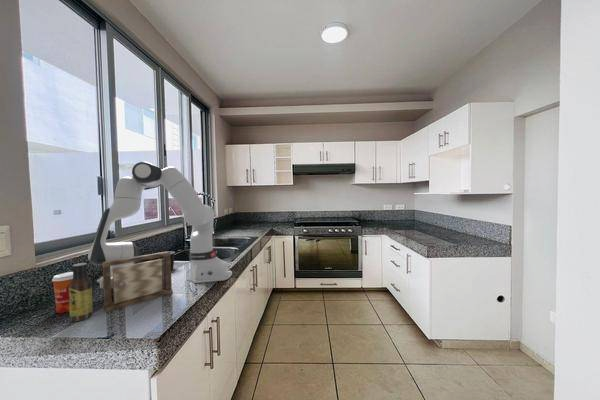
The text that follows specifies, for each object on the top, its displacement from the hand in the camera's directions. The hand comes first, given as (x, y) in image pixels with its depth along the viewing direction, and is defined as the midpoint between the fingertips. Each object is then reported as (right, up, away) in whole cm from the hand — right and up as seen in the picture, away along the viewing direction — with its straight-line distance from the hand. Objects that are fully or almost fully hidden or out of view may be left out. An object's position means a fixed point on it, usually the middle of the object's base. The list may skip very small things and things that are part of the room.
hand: (132, 281), depth 103 cm
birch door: (+3, -7, +1) cm, 7 cm away
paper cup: (-21, -9, -7) cm, 24 cm away
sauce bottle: (-9, -9, -14) cm, 19 cm away
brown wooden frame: (+2, -8, +1) cm, 9 cm away
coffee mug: (-11, -8, +44) cm, 46 cm away
